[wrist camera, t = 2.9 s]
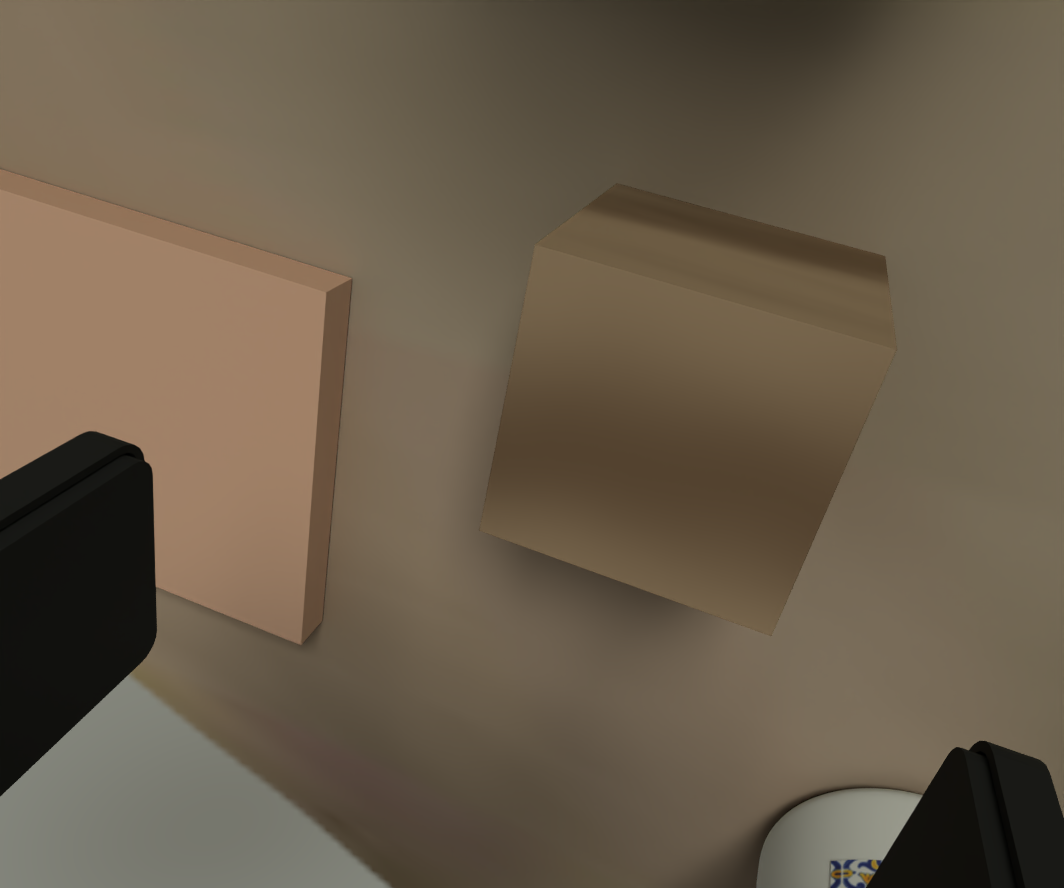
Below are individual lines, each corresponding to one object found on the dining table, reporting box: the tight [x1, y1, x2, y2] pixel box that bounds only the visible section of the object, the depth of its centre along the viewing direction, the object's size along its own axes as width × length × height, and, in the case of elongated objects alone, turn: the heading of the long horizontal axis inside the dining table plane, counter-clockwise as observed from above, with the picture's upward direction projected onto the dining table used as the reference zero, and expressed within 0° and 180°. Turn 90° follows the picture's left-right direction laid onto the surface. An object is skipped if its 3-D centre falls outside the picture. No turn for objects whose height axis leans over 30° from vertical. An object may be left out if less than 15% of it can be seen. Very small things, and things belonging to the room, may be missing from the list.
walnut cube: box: [479, 184, 897, 636], centre depth 16 cm, size 6×6×6 cm
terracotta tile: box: [0, 169, 352, 645], centre depth 24 cm, size 11×11×1 cm
